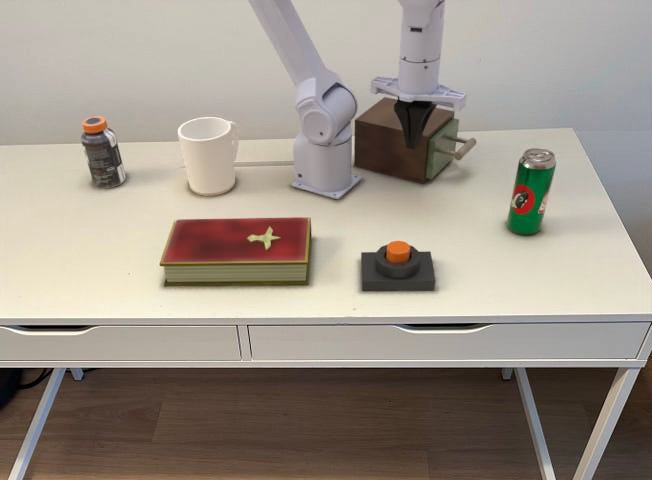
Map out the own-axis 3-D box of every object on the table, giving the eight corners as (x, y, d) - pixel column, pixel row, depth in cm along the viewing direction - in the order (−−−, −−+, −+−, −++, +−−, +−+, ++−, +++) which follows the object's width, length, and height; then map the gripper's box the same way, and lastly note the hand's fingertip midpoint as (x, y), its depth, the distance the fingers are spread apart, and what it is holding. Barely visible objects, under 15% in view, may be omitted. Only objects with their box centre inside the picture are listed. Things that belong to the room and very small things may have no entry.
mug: (205, 203, 112) (196, 146, 105) (178, 184, 117) (167, 128, 110) (257, 180, 117) (251, 124, 110) (228, 163, 122) (221, 108, 115)
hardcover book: (179, 239, 104) (174, 216, 102) (311, 237, 103) (310, 214, 100) (164, 286, 96) (159, 262, 93) (308, 284, 94) (307, 260, 91)
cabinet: (449, 158, 119) (454, 111, 113) (423, 184, 113) (427, 136, 107) (382, 142, 125) (384, 96, 119) (354, 165, 118) (354, 119, 113)
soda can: (541, 237, 99) (559, 164, 91) (506, 235, 100) (521, 162, 92) (539, 219, 103) (556, 147, 94) (505, 217, 104) (519, 145, 95)
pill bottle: (133, 177, 120) (118, 116, 112) (110, 191, 117) (93, 130, 109) (109, 170, 123) (93, 110, 115) (86, 184, 119) (68, 123, 111)
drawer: (477, 161, 115) (482, 124, 111) (454, 185, 110) (459, 147, 105) (392, 141, 123) (394, 105, 118) (366, 162, 117) (368, 125, 112)
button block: (361, 290, 92) (362, 270, 90) (361, 261, 97) (361, 241, 95) (434, 290, 92) (436, 269, 89) (429, 260, 97) (431, 240, 94)
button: (386, 264, 91) (387, 253, 90) (385, 251, 94) (386, 240, 92) (410, 264, 91) (411, 253, 90) (408, 250, 93) (409, 240, 92)
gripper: (361, 56, 94) (359, 146, 104) (456, 73, 88) (445, 167, 97) (384, 41, 98) (381, 128, 108) (477, 56, 92) (464, 148, 101)
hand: (412, 146), depth 103 cm, fingers closed
